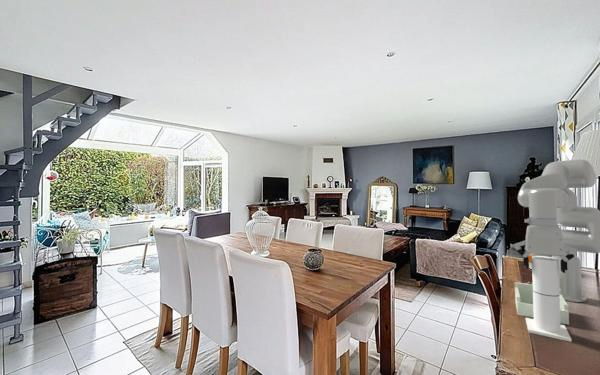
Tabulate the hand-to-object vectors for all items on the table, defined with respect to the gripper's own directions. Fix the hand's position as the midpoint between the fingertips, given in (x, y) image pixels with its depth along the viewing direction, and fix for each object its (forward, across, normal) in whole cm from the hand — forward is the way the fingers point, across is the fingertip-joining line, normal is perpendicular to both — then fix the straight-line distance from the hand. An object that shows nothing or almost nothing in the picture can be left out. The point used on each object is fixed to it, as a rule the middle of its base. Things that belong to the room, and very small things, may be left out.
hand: (544, 269), depth 97 cm
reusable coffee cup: (+22, +7, +93) cm, 95 cm away
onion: (+22, -2, +34) cm, 41 cm away
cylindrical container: (+21, 0, 0) cm, 21 cm away
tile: (+22, 0, 0) cm, 22 cm away
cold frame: (+22, 0, +17) cm, 28 cm away
